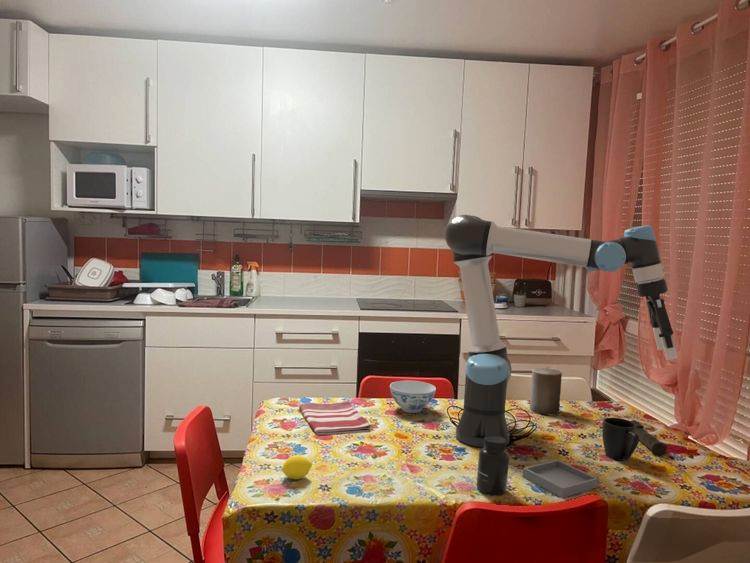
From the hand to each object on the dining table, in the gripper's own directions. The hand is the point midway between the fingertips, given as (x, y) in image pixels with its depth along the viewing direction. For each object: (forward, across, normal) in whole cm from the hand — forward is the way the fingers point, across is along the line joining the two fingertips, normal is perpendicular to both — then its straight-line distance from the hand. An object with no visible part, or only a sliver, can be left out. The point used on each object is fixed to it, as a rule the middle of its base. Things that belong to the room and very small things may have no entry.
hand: (667, 354), depth 160 cm
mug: (+23, -14, +19) cm, 33 cm away
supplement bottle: (+14, -46, +48) cm, 68 cm away
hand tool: (+26, +2, +12) cm, 28 cm away
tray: (+18, -36, +34) cm, 52 cm away
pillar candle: (+17, +22, +38) cm, 48 cm away
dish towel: (0, -17, +97) cm, 98 cm away
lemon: (+1, -59, +90) cm, 107 cm away
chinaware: (+5, +3, +78) cm, 78 cm away
